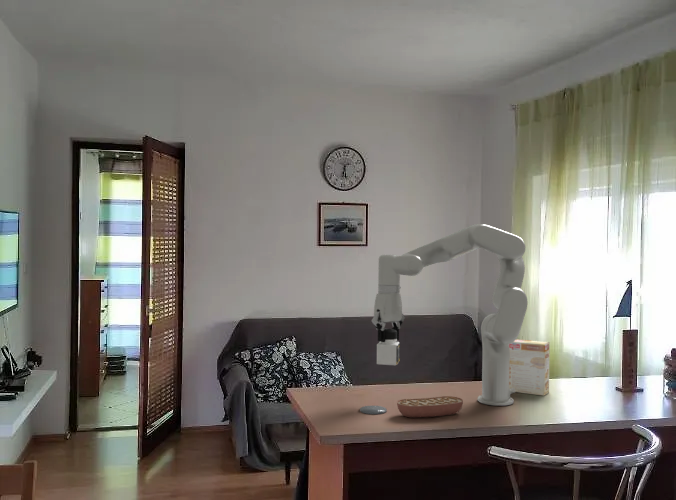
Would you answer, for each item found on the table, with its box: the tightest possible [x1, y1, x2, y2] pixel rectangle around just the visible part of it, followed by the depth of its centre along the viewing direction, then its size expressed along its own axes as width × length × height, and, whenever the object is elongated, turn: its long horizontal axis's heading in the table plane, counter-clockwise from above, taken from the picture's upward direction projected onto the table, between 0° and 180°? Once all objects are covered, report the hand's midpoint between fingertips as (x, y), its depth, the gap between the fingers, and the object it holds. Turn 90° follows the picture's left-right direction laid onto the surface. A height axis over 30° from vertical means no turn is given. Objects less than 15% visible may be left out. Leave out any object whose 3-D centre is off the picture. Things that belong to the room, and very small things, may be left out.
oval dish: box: [396, 395, 464, 419], centre depth 217 cm, size 23×10×5 cm, turn 106°
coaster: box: [359, 405, 387, 415], centre depth 222 cm, size 9×9×1 cm
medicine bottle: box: [376, 328, 401, 366], centre depth 230 cm, size 7×7×12 cm
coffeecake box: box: [509, 338, 550, 397], centre depth 250 cm, size 15×7×20 cm, turn 58°
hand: (388, 340), depth 230 cm, fingers closed on medicine bottle, 6 cm apart
